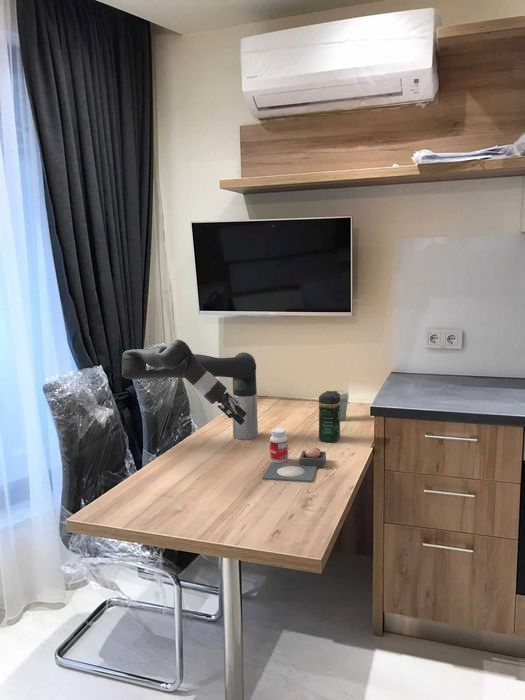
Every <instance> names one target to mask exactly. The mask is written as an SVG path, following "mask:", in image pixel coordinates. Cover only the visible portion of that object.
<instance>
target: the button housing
mask: <svg viewBox="0 0 525 700" xmlns="http://www.w3.org/2000/svg"><path fill="white" fill-rule="evenodd" d="M326 458H327V452H326V451H322V450H320V457H318V458H308V457H306V456H305V450H302V452H301V454H300V457H299V458H298V460H299V461H298V463H299V464H298V465H304V466H317V469H324V466H325V463H326V460H327V459H326Z"/></svg>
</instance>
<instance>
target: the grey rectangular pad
mask: <svg viewBox="0 0 525 700" xmlns="http://www.w3.org/2000/svg"><path fill="white" fill-rule="evenodd" d="M317 469H318V468H317V466H304V465H299V464H294V463H293V464H291V463H273V462H270V464H269V466H268V468H267V469H266V471H265V473H264V475H263V476H262V480H269V481H270V480H271V481H283V482H298V483H299V482H300V483H301V482H304V483H313V481H314V478H315V475H316V472H317Z"/></svg>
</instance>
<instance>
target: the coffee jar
mask: <svg viewBox="0 0 525 700" xmlns="http://www.w3.org/2000/svg"><path fill="white" fill-rule="evenodd" d="M340 438H341V421H340V394H339V393H337V392H336V391H335V390H326V391H324V392H323V393H321V394H320V395H319V396H318V440H319V441H322V442H325V443H333V442H335V443H336V442H337V441H339V439H340Z"/></svg>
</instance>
